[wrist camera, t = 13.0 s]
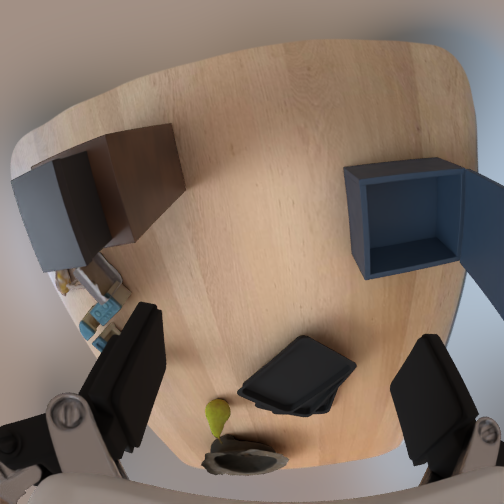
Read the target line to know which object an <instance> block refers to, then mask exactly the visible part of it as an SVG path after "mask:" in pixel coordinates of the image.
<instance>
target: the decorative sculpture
mask: <svg viewBox="0 0 504 504" xmlns="http://www.w3.org/2000/svg"><path fill="white" fill-rule="evenodd" d="M92 260H93V261H92V262H91V263H90V264H89V265H88V266H85V267H78V268H76V269H75V270H74V272H73V274H74V275H75V277H76V279H75V280H74V281H73V282H72V283H71V279H70V275H69V272H68V269H64V270H58V271H56V286H57V289H58V290H59V291H60V292H61V294H62V295H64V296H66V293H67V292H68V291H69V290H70V289H72V290H73V289H85V288H86V290H87V291H88V292H89V293H90V294H91V295H92V296H93V297H94V298H95V300H96V301H97V302H98V303H99V304H100V305H103V304H105V303H106V302H107V301H108V300H109V298H108V299H107V298H106V297H104V295H105V294H106V293H107V292H108V290H109V289H110V288H111V287H112V286H113V284H114V283H115V282H116V281H118V282H120V284H119V286H120V285H121V283H122V281H123V280H122V277H121V275H120V274H119V273H118V272H117V269H115V268H114V267H113V266H112V265H111V264H109V263H108V262H107V260H106V259H105V258H104V257H103V256H102V254H101V253H100V252H98V253H97V254H96V255H95V256H94V257H93V258H92ZM78 281H79V282H80V283H81V284H79V285H74V284H75V283H76V282H78ZM119 286H118V287H119ZM118 287H117V288H116V290H117V289H118ZM116 290H115V291H116ZM115 291H114V292H113V294H114V293H115ZM113 294H112V295H113ZM112 295H111V296H112ZM111 296H110V297H111Z"/></svg>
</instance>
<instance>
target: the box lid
mask: <svg viewBox="0 0 504 504" xmlns="http://www.w3.org/2000/svg"><path fill="white" fill-rule="evenodd" d="M460 263H461V265H462V266H463V267H464V268H465V269H466V271H467V272H468V273H469V274H470V275H471V277H472V278H473V279H474V280H475V282H476V283H477V284H478V286H479V287H480V288H481V290H482V291H483V292H484V294H485V295H486V296H487V298H488V299H489V300H490V302H491V303H492V305H493V306H494V307H495V309H496V310H497V311H498V313H499V314H500V316H501V317H502V319H503V320H504V186H503V185H501V184H499V183H497V182H495V181H493V180H491V179H489V178H487V177H485V176H483V175H481V174H479V173H477V172H475V171H473V170H471V169H465V212H464V227H463V238H462V247H461V256H460Z"/></svg>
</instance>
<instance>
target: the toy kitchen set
mask: <svg viewBox="0 0 504 504" xmlns="http://www.w3.org/2000/svg"><path fill="white" fill-rule="evenodd" d="M119 284H120V282H118V281H116V282H115V283H114V284H113V286H112V287H111V288H110V289H109V290H108V292H107V293H106V294H105V295H104V297H106V298H107V299H108V298H109V300H108V301H107V302H106V303H105V304H103V305H100V304H99V303H97V304H96V305H95V306H92V308H91V309H90V310H89V311H88V313H87V314H86V315H85V317H84V318H83V319H82V321H81V322H80V324H79V328H80V332H81V334H82V335H83V337H84V338H85V339H86V340H87V341H88V340H89V339H90V338H91V337H92V336H93V335H94V334H95V332H96V331H97V329H96V328H97V327H98V326H99V325H100V324H101V325H102V326H104V325H105V324H106V323H107V322H108V321H109V320H110V319H111V318H112V317H113V316H114V315H115V314H116V313H117V312H118V311H119V310H120V309H121V308H122V306H123V305H124V303H125V302H126V300H127V299H128V297H129V296H130V295H131V292H130V291H129V290H128V289H127V288H126V287H125V286H124V285H122V284H121V285H120V286H119ZM118 286H119V287H118ZM117 287H118V289H117V290H116V288H117ZM115 290H116V291H115ZM114 291H115V293H114V294H113V292H114ZM112 294H113V295H112ZM111 295H112V296H111ZM110 296H111V297H110ZM120 333H121V332H120V331H119V330H118V329H117V328H116V327H115V324H114V323H113V322H112V323H110V324H109V325H108V326H107V327H106V328H105V329H104V331H103V332H102V333H101V334H100V335H99V336H98V337H97V338H96V339H95V341H93V343H92V345H93V346H94V347H96V348H97V349H98V350H99V351H100V352H102V351H103V349H104V347H105V345H106V344H107V342H108V340H109V339H110V337H111V336H112V335H114V334H117V335H120Z"/></svg>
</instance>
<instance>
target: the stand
mask: <svg viewBox="0 0 504 504" xmlns="http://www.w3.org/2000/svg"><path fill="white" fill-rule="evenodd" d="M83 151H87V155H88V159H89V163H90V167H91V170H92V174H93V178H94V182H95V185H96V189H97V192H98V195H99V199H100V202H101V205H102V209H103V212H104V215H105V218H106V221H107V224H108V227H109V230H110V233H111V236H112V240H111V241H110V242H109V243H108V244H107V245H106V246H105V247H104V248H107V247H113V246H119V245H125V244H131V243H135V242H136V241H137V240H138V239H139V238H140V237H141V236H142V235H143V234H144V233H145V232H146V231H147V230H148V228H149V227H150V226H151V225H152V224H153V223H154V222H155V221H156V220H157V219H158V218H159V217H160V216H161V215H162V214H163V213H164V212H165V211H166V210H167V209H168V208H169V207H170V206H171V205H172V204H173V203H174V202H175V201H176V200H177V199H178V198H179V197H180V196H181V195H182V194H183V193H184V192H185V191H186V187H185V183H184V178H183V174H182V170H181V165H180V161H179V157H178V152H177V148H176V143H175V138H174V134H173V129H172V124H171V123H169V124H161V125H155V126H148V127H142V128H136V129H131V130H125V131H120V132H115V133H110V134H105V135H103V136H100V137H97V138H95V139H92V140H90V141H87V142H85V143H82V144H80V145H77V146H75V147H73V148H70V149H68V150H66V151H63V152H61V153H59V154H57V155H54V156H52V157H50V158H48V159H46V160H44V161H42V162H40V163H38V164H36V165H34V166H32V167H31V170H33V169H35V168H37V167H39V166H41V165H43V164H45V163H47V162H50V161H52V160H54V159H57V158H60V159H62V158H65V157H67V156H71V155H74V154H77V153H80V152H83Z"/></svg>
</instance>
